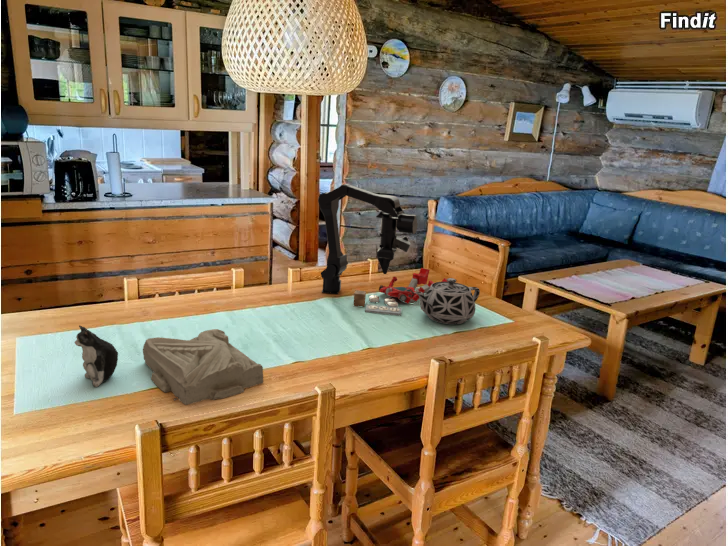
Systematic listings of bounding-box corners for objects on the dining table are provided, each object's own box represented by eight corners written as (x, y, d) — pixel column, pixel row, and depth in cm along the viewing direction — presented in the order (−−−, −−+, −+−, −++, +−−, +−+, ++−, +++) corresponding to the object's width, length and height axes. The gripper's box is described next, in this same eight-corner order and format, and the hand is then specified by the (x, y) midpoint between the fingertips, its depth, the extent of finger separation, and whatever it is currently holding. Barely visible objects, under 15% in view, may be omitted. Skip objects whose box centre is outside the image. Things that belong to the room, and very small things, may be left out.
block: (353, 306, 209) (354, 293, 207) (354, 302, 213) (355, 290, 211) (363, 307, 208) (364, 294, 207) (365, 303, 212) (366, 291, 211)
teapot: (395, 316, 202) (398, 276, 197) (458, 305, 218) (463, 268, 214) (429, 334, 186) (433, 292, 182) (494, 321, 203) (499, 282, 199)
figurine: (70, 377, 143) (65, 322, 138) (109, 367, 149) (106, 314, 145) (83, 391, 136) (79, 334, 132) (124, 380, 143) (121, 325, 139)
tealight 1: (368, 302, 214) (368, 296, 213) (369, 299, 218) (369, 293, 217) (378, 303, 214) (379, 297, 213) (379, 300, 218) (380, 294, 217)
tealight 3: (386, 308, 209) (387, 302, 208) (387, 305, 213) (388, 298, 212) (397, 309, 209) (398, 303, 208) (398, 306, 212) (398, 299, 212)
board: (365, 311, 203) (365, 309, 203) (366, 306, 209) (367, 303, 209) (400, 315, 202) (400, 312, 202) (401, 309, 208) (401, 307, 208)
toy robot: (456, 277, 226) (402, 283, 207) (453, 299, 228) (398, 307, 210) (425, 266, 239) (371, 271, 221) (422, 287, 242) (369, 294, 223)
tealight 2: (383, 304, 213) (384, 298, 212) (385, 301, 217) (386, 295, 216) (393, 306, 212) (394, 299, 211) (395, 303, 216) (396, 296, 215)
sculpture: (179, 412, 131) (178, 379, 128) (134, 362, 153) (132, 333, 151) (274, 385, 147) (274, 355, 144) (220, 343, 169) (220, 317, 167)
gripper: (409, 237, 198) (406, 279, 202) (411, 227, 216) (408, 266, 220) (377, 234, 199) (375, 276, 203) (382, 225, 217) (380, 264, 221)
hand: (386, 270), depth 212 cm, fingers open, 9 cm apart
